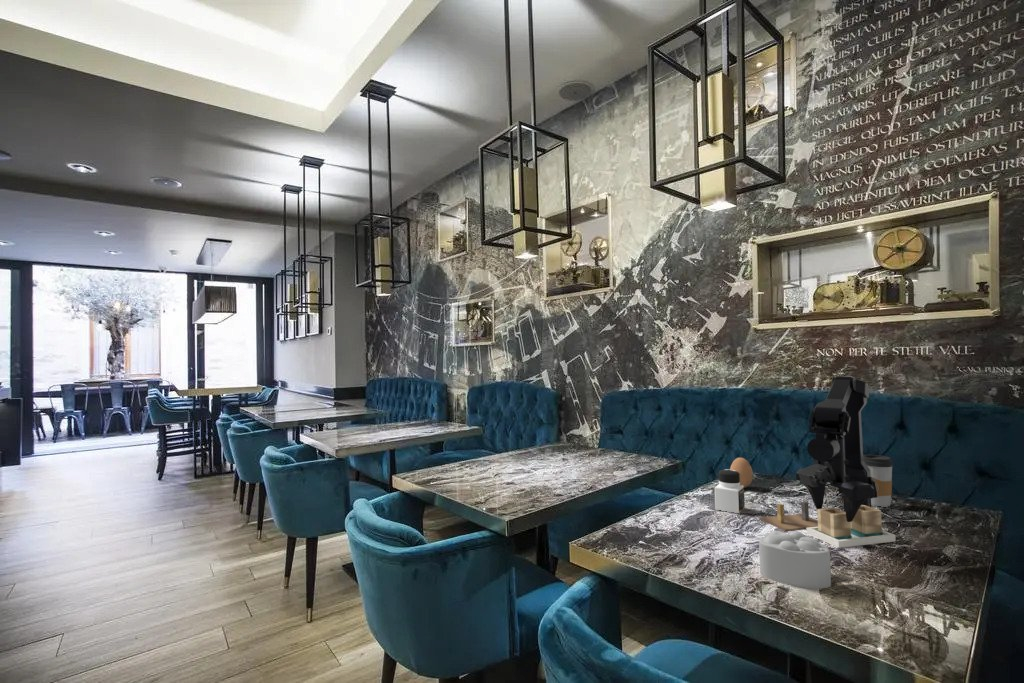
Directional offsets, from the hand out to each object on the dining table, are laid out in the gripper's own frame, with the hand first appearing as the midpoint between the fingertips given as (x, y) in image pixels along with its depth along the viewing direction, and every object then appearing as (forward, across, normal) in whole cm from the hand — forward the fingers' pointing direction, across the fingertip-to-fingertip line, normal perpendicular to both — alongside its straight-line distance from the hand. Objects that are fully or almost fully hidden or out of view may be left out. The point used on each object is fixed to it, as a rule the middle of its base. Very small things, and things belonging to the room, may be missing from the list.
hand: (833, 515), depth 127 cm
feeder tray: (+6, 0, +5) cm, 8 cm away
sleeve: (+6, 0, +9) cm, 11 cm away
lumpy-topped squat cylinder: (+7, +15, -25) cm, 30 cm away
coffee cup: (+7, -22, +38) cm, 45 cm away
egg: (+7, -50, +11) cm, 52 cm away
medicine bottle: (+7, -30, -9) cm, 32 cm away
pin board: (+6, -13, -1) cm, 14 cm away
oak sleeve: (+6, 0, 0) cm, 6 cm away
